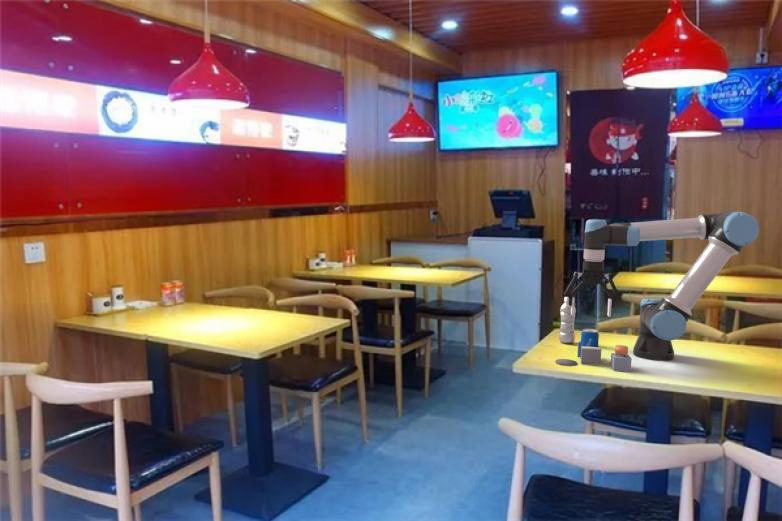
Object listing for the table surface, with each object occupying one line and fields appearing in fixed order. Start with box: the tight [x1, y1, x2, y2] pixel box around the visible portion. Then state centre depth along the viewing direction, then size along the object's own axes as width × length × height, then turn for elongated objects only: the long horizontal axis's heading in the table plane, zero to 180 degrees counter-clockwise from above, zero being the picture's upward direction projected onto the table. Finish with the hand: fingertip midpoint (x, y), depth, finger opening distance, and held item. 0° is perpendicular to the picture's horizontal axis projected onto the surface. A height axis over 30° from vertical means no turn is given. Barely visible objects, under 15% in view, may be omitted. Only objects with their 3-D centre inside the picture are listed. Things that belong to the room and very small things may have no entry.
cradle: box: [576, 339, 602, 366], centre depth 236 cm, size 7×11×6 cm, turn 171°
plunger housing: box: [610, 352, 632, 373], centre depth 226 cm, size 6×6×5 cm
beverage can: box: [579, 328, 600, 360], centre depth 236 cm, size 6×6×12 cm
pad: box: [554, 358, 578, 367], centre depth 233 cm, size 8×8×1 cm
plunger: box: [614, 344, 629, 357], centre depth 226 cm, size 4×4×7 cm
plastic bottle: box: [558, 296, 577, 344], centre depth 263 cm, size 6×7×20 cm
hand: (590, 315), depth 235 cm, fingers open, 13 cm apart
